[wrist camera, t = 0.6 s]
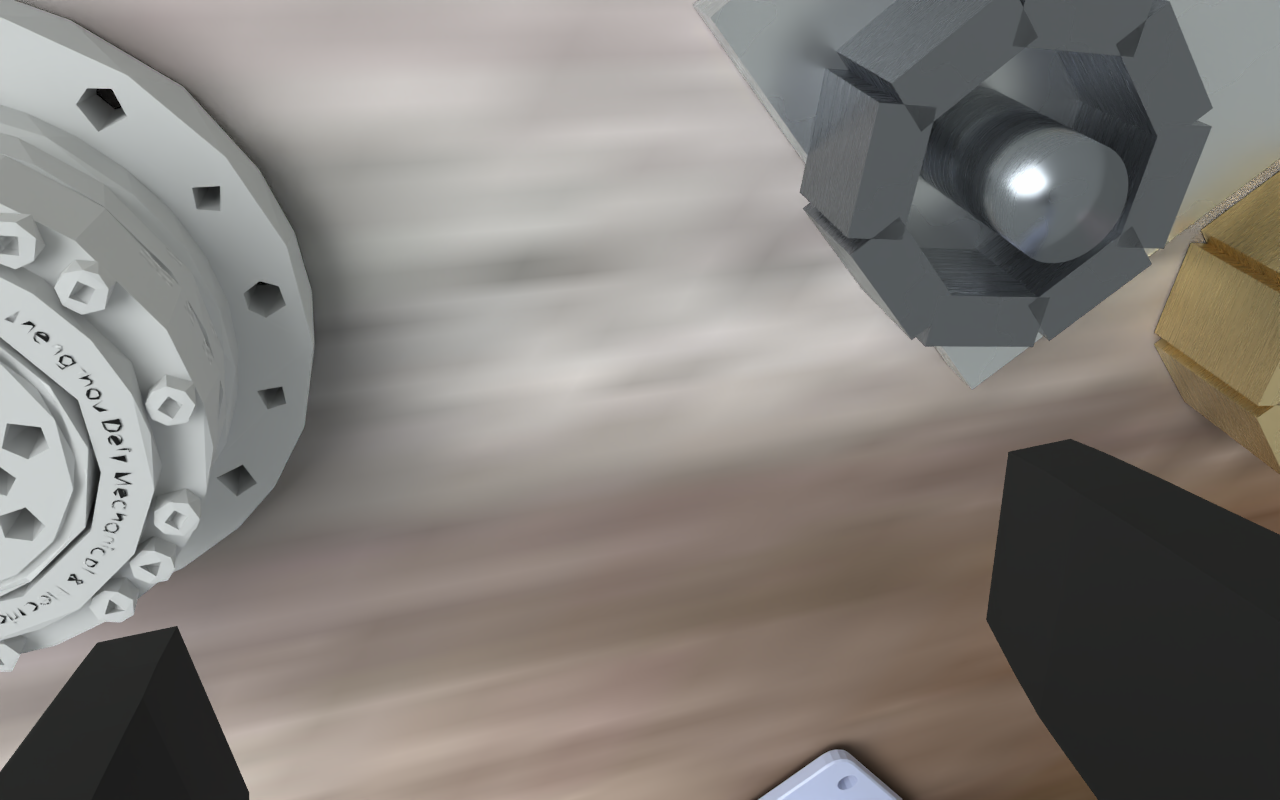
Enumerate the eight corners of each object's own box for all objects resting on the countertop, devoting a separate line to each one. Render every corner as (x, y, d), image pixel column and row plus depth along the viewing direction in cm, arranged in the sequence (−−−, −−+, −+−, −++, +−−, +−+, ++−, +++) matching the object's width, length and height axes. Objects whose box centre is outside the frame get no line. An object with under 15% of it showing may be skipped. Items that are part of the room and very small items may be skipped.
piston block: (1438, -8, 19) (1667, 39, 16) (925, 382, 21) (1032, 497, 18) (1313, -539, 14) (1604, -632, 11) (664, 29, 16) (744, 95, 13)
